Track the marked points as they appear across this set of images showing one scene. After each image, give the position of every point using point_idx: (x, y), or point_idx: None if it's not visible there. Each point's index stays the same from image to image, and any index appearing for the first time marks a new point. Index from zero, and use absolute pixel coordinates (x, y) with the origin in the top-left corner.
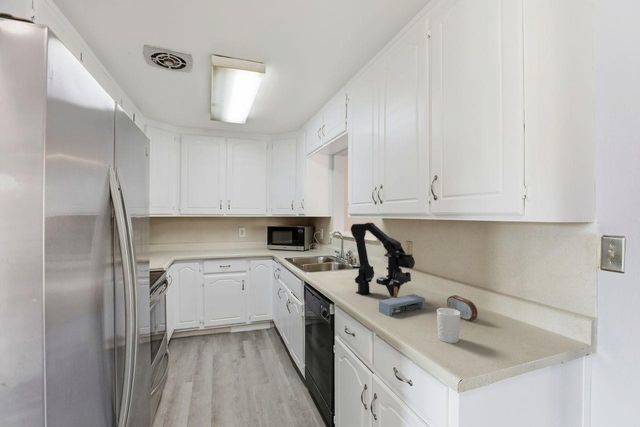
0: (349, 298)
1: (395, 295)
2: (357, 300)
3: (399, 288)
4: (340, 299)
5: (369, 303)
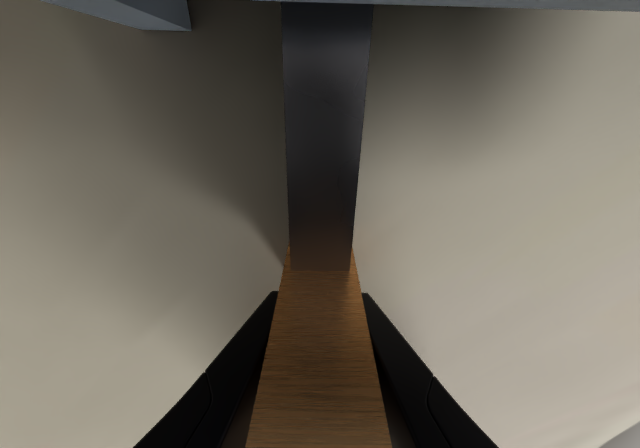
0: (544, 432)
1: (321, 290)
2: (552, 394)
3: (185, 403)
4: (607, 439)
5: (568, 318)
